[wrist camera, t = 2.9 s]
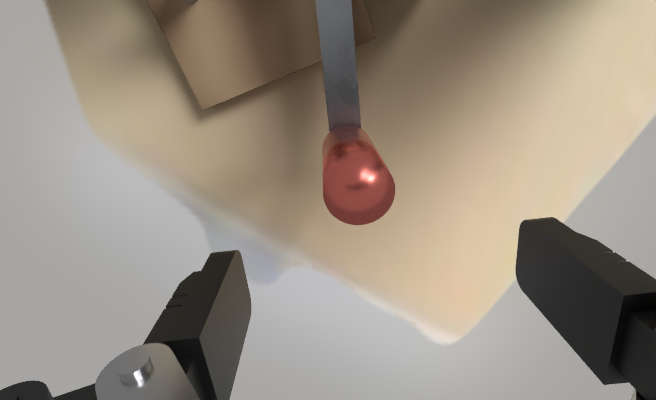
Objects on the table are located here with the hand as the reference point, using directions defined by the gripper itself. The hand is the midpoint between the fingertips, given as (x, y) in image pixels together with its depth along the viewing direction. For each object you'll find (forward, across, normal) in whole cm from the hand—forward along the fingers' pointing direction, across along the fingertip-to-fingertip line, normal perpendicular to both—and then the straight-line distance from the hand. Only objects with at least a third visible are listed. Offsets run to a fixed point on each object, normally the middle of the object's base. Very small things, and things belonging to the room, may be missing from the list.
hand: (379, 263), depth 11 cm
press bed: (+22, +4, -10) cm, 24 cm away
